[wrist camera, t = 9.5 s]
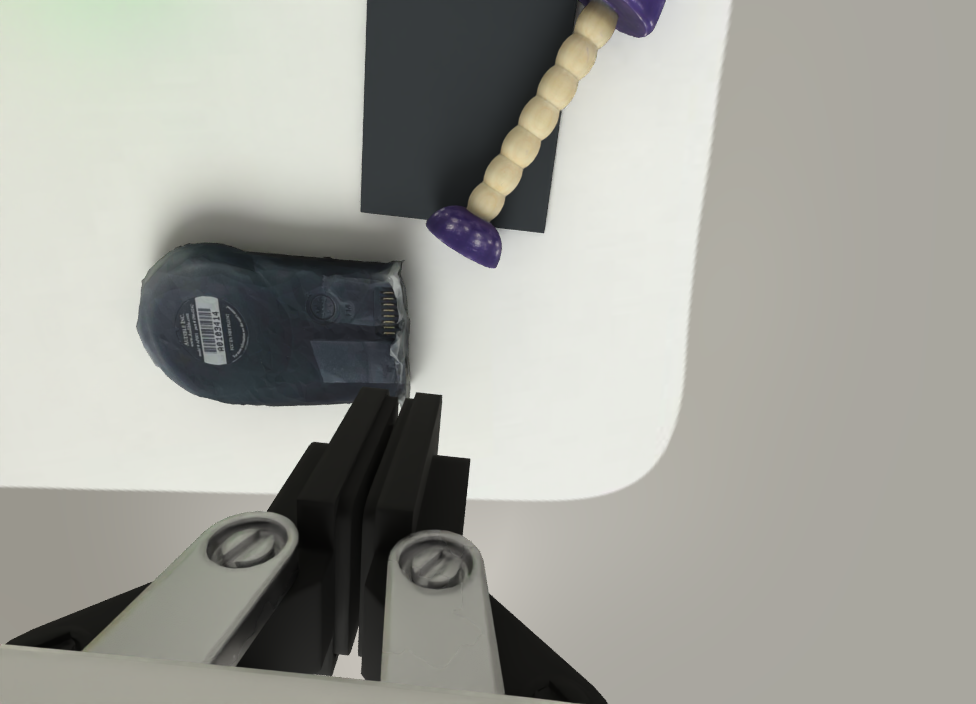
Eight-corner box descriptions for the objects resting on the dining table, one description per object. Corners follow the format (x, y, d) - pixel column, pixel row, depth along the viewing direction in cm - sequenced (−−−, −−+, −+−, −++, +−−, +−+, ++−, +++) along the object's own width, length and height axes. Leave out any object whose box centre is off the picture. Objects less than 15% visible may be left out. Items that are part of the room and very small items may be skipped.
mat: (377, -269, 24) (375, -275, 23) (610, -239, 24) (612, -246, 23) (361, 211, 30) (360, 212, 30) (543, 232, 30) (544, 233, 30)
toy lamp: (512, 274, 30) (703, -35, 25) (488, 276, 26) (713, -97, 21) (442, 227, 31) (615, -81, 26) (407, 221, 26) (607, -151, 22)
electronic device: (408, 234, 32) (131, 236, 30) (406, 264, 27) (76, 268, 25) (414, 374, 36) (172, 383, 34) (413, 423, 31) (131, 435, 30)
